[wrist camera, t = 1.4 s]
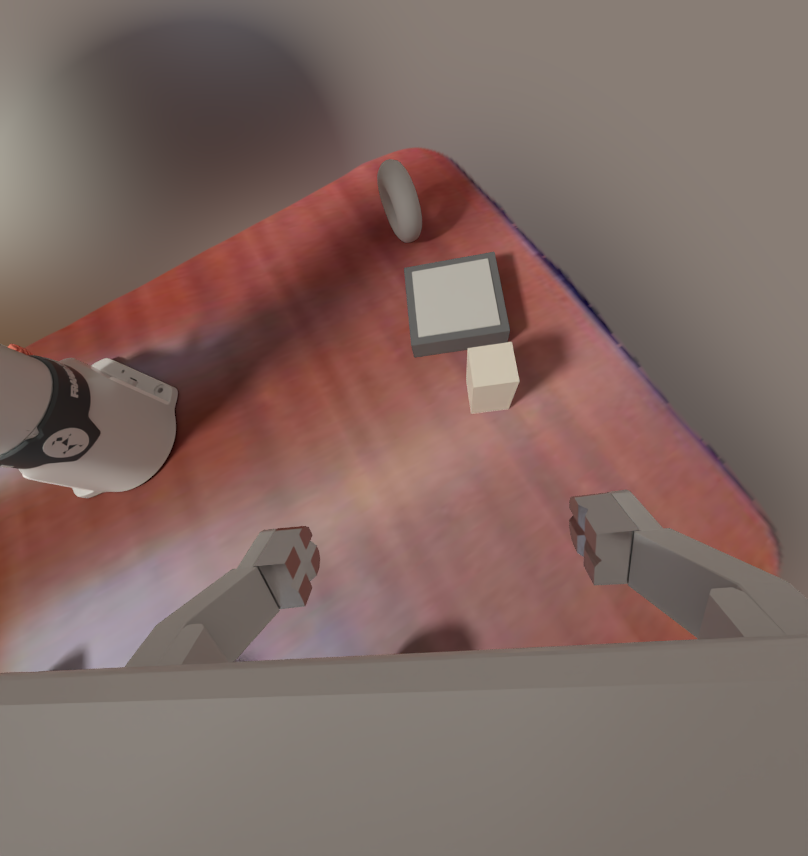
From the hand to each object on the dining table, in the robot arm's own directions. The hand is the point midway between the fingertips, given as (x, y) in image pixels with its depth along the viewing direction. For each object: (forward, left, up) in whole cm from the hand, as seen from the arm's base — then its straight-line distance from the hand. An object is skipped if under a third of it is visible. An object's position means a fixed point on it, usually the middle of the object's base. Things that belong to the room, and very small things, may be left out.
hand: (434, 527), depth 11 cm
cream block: (-6, +16, -29) cm, 34 cm away
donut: (-30, +32, -29) cm, 52 cm away
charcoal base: (-16, +24, -29) cm, 41 cm away
